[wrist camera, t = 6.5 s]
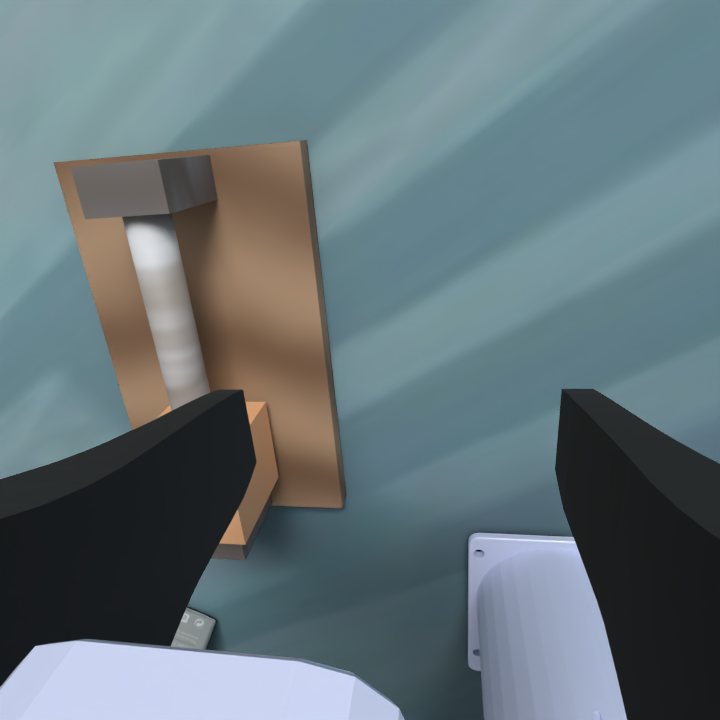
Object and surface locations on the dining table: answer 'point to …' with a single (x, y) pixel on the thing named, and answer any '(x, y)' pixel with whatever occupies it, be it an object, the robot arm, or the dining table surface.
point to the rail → (216, 296)
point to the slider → (253, 476)
